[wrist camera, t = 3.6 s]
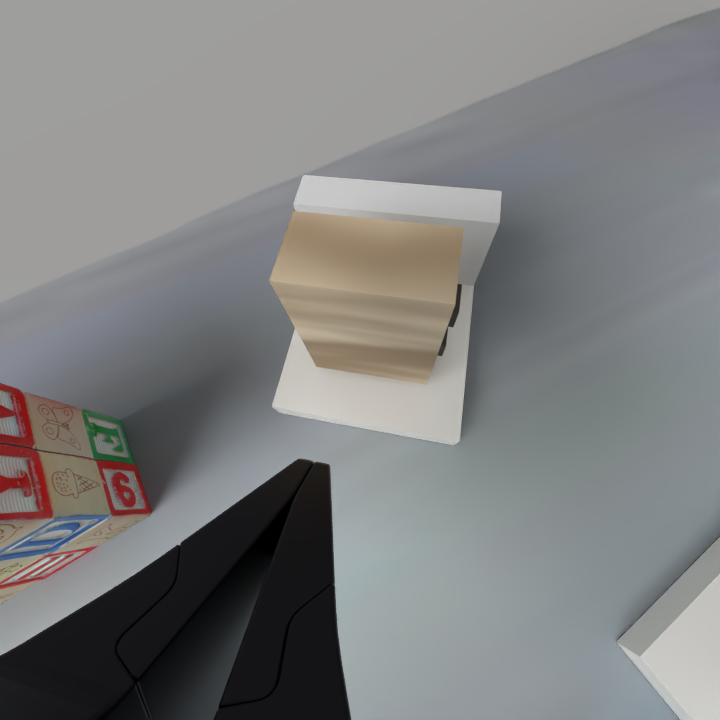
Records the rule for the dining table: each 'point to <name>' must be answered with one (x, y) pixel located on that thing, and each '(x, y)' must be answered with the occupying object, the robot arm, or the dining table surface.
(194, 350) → the dining table surface
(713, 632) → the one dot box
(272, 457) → the dining table surface
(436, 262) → the two dot key
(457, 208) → the white l-shaped holder
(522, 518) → the dining table surface
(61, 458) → the stack of blocks
